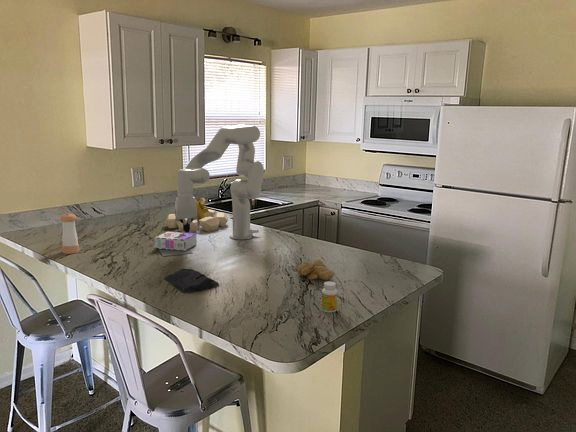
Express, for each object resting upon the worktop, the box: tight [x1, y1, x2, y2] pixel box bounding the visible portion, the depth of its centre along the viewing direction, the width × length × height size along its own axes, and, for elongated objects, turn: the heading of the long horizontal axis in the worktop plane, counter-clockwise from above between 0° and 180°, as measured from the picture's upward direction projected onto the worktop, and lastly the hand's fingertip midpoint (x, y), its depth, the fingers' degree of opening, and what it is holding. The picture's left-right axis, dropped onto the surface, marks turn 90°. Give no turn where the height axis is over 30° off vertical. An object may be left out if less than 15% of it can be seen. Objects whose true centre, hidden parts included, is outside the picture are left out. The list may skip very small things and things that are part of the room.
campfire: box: [164, 197, 229, 233], centre depth 285 cm, size 35×34×17 cm
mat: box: [157, 248, 193, 257], centre depth 235 cm, size 14×14×1 cm
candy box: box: [154, 231, 198, 251], centre depth 241 cm, size 14×6×16 cm
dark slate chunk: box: [164, 268, 220, 294], centre depth 192 cm, size 15×22×5 cm
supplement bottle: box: [320, 280, 338, 313], centre depth 167 cm, size 5×5×10 cm
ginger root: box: [293, 258, 335, 281], centre depth 201 cm, size 16×16×8 cm
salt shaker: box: [59, 212, 80, 255], centre depth 230 cm, size 7×7×19 cm
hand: (186, 231), depth 236 cm, fingers closed
